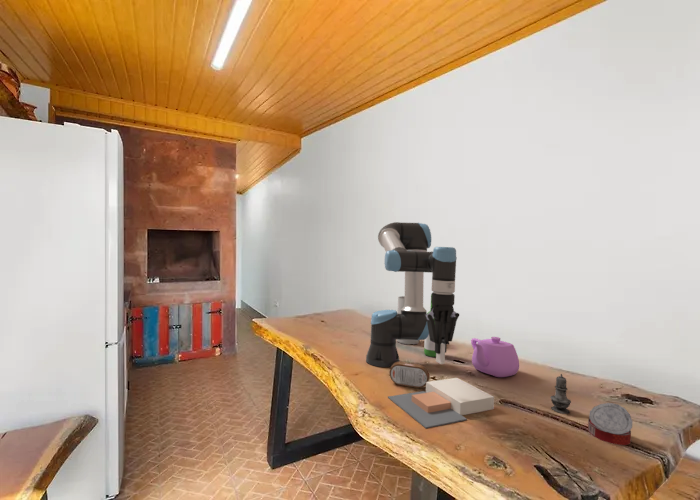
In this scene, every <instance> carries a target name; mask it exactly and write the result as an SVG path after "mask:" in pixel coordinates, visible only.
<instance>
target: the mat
mask: <svg viewBox="0 0 700 500" xmlns="http://www.w3.org/2000/svg"><path fill="white" fill-rule="evenodd" d="M422 393H426V390H422V391H415V392H410V393H402V394H396V395H389V396H387V399H389V400H390V402H391V401H392V402H393V403H394V404H395V405H396V406H398V407H399V408H400V409H401V410H403V412H404V413H406V414H407V415H408V416H410V417H411V418H412V419H414V421H416V422H417V423H419V425H421V427H424V428H425V429H431V428H435V427H440V426H445V425H450V424H456V423H458V422H464V421H467V420H468V419H467V418H466V417H465V416H464V415H460V414H459V413H457V412H456V411H454V410H453V409H446V410H440V411H435V412H430V413H427V412H426V411H424V410H423V409H422V408H420V407H419V406H418V405H416V404H415V403H414V402H412V395H416V394H422Z"/></svg>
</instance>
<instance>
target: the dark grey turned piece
mask: <svg viewBox="0 0 700 500" xmlns="http://www.w3.org/2000/svg"><path fill="white" fill-rule="evenodd" d="M555 380H556V381H555V386H554V388H555V394H554V395H551V396H550V399H551V404H553V405H552V406H551V410H552V411H553V410H554V412H555V411H556V412H555V413H559V414H562V415H568V414H570V413H571V411H570V410H569V409H568V408H569V407H570V405H571V404H572V401H571V399H570V398H567V397H568V396H567V391H568V388H567V378H566V377H564V376H563V374H562V373H561V374H560V376H556V378H555Z"/></svg>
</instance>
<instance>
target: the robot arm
mask: <svg viewBox="0 0 700 500" xmlns="http://www.w3.org/2000/svg"><path fill="white" fill-rule="evenodd" d="M377 238H378V239H377V240H378V242H379V245H380V246H381V247H382V248H383V249H384V250H385V253H384V269H385V270H386V271H388V272H395V273H397V272H404V296H405V302H404V307H403V308H402V309H401V314H398V310H396V309H381V310H376V311H375V312H373V313H372V314H371V318H370V319H371V321H370V342H369V347H368V350H367V354H366V355H365V361H366V363H367V364H368V365H370V366H375V367H379V368H380V367H381V368H391V366H392V365H393V364H394V363H396V362H400V355H399V353H398V350H397V349H398V348H397V339H400V340H419V341H424V340H425V339H426V338H427V337H428V335H429V337H430V341H432V342H434V343H435V353H436V357H435V362H436V363H438V364H440V365H445V363H446V359H445V357H446V353H447V351H448V350H447V348H448V347H447V346H448V345H450V342H452V341H453V338H454V333H455V329H456V324H457V320H458V319H459V317H460V313H459V312H456V311H455V310H454V305H455V298H456V297H455V291H456V271H457V269H456V267H457V250H456V248H455V247H453V246H450V247H449V246H448V247H447V246H435V247H433V250H432V251H428V249H430V248H431V247H432V233H431V228H430V227H429V226H428V224H426V223H422V222H399V221H398V222H396V221H395V222H391V223H388V224H385V225H384V226H383V227H382V228H381V229H380V230H379V232H378V235H377ZM425 273H431V276H432V277H431V291H432V293H430V304H431V303H432V308H431V307H430V308H431V311H430V310H429V311H430V312H429V311H428V312H429V313H428V312H427V310H426V309H425V307H424V278H425V277H424V274H425ZM427 313H428V314H427ZM433 316H434V317H433ZM434 322H435V323H434Z"/></svg>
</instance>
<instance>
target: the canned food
mask: <svg viewBox="0 0 700 500" xmlns="http://www.w3.org/2000/svg"><path fill="white" fill-rule="evenodd" d="M588 418H589V419H588V421H587V423H588V424H587V432H588V433H589V434H590V435H591V436H592V437H594V438H596V439H598V440H599V441H603V442H606V443H609V444H612V445H616V446H617V445H618V446H628V445H630V444H631V440H632V439H631V438H632V437H631V436H632V431H631V430H632V429H633V421H634V420H633V419H632V416H631V414H630V413H629V412H628V411H627V409H626V408H625V407H623V406H622V405H620V404H616V403H612V402H607V403H606V402H605V403H599V404H598V405H596V406H593V408H592V409H591V410H590V411H589V414H588Z"/></svg>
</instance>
